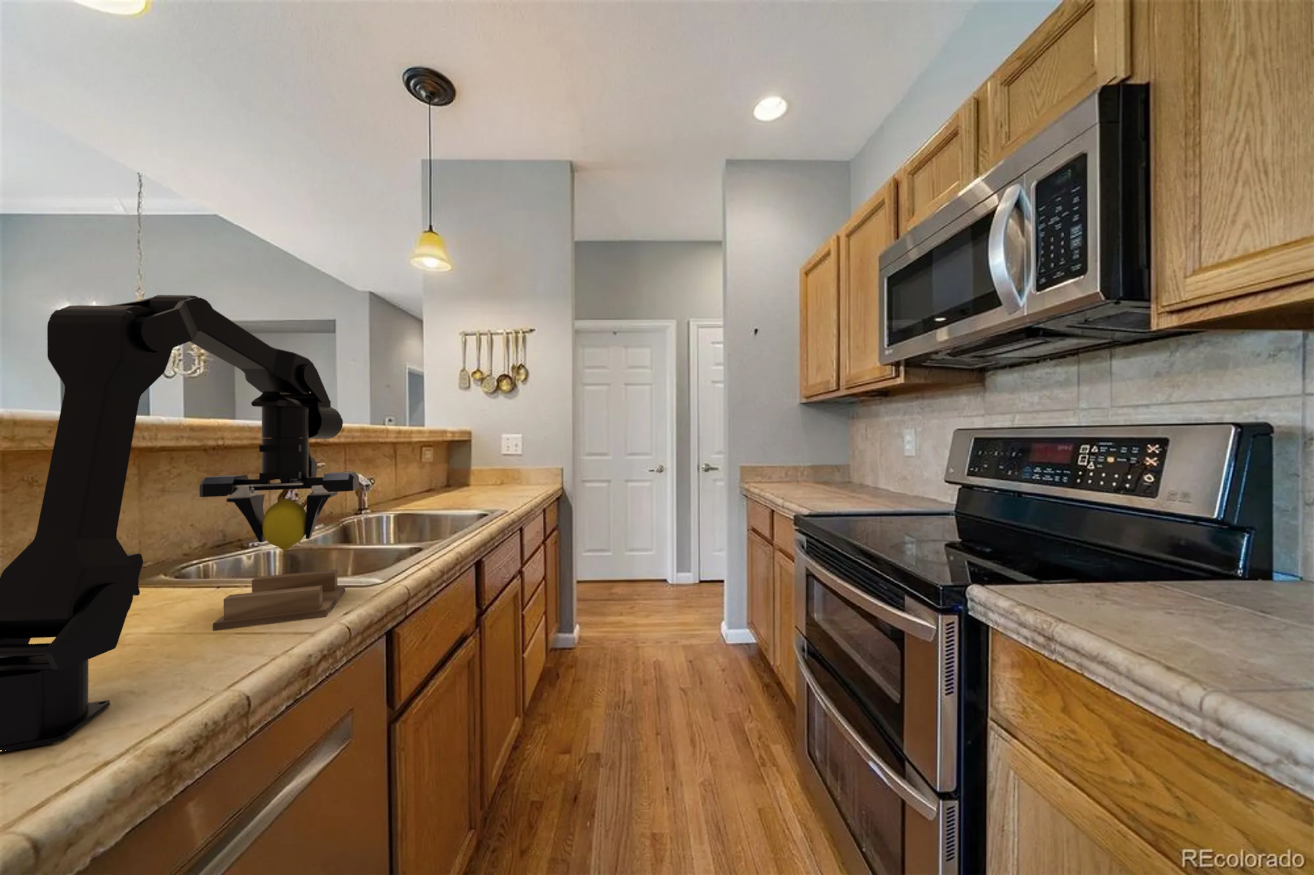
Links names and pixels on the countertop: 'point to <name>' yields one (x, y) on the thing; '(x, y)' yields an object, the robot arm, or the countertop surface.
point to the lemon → (284, 524)
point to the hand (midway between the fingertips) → (285, 540)
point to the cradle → (282, 599)
